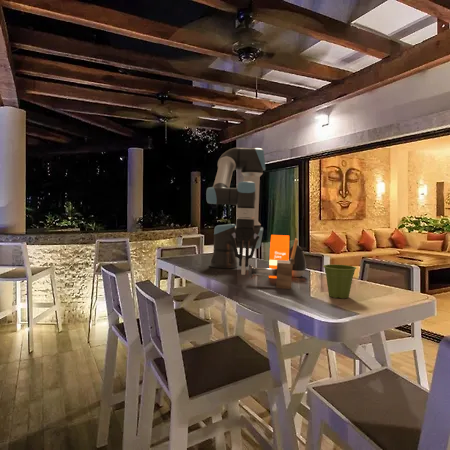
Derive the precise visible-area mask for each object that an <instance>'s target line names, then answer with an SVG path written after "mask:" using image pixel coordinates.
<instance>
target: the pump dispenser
mask: <svg viewBox="0 0 450 450" xmlns="http://www.w3.org/2000/svg"><path fill="white" fill-rule="evenodd" d="M293 246H294V245H292V246H291V247H289V260H290V256H291V255H292V250H293ZM304 251H307V247H301V246H300V245H298V244H297V247H296V252H295V256H294V259H295V261H294V264H292V278H300V277H302V276H304V274H305V272H306V270H307V263H306V258H305V254H304Z"/></svg>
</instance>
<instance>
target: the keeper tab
mask: <svg viewBox="0 0 450 450" xmlns="http://www.w3.org/2000/svg"><path fill="white" fill-rule="evenodd" d="M298 241H299V239H298V238H296V237H295V238H294V242H293V245H292V246H293V250H292V255H291V258H290V259H294V256H295V252H296V247H297V245H298Z"/></svg>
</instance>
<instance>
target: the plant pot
mask: <svg viewBox="0 0 450 450" xmlns="http://www.w3.org/2000/svg"><path fill="white" fill-rule="evenodd" d="M322 267H323V268H324V272H325V276H326V286H327V292H328V293H327V294H328V296H329V297H330V298H333V299H334V298H335V299H337V298H340V299H348V298H349V297H350V293H351V288H352V283H353V277H354V275H355V272H356V269H357V267H356V266H353V265H348V264H335V263H334V264H324V265H323V266H322Z"/></svg>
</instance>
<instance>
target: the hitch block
mask: <svg viewBox="0 0 450 450" xmlns="http://www.w3.org/2000/svg"><path fill="white" fill-rule="evenodd" d="M290 258H291V256H290ZM294 261H295V259H290V260H277V278H275V279H276V282H275V288H276V289H285V290H286V289H288V290H292V279H293V277H292V264H294Z"/></svg>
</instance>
